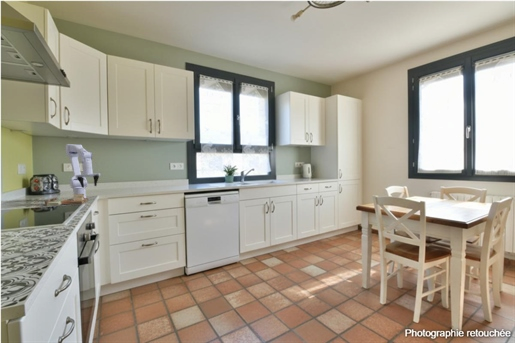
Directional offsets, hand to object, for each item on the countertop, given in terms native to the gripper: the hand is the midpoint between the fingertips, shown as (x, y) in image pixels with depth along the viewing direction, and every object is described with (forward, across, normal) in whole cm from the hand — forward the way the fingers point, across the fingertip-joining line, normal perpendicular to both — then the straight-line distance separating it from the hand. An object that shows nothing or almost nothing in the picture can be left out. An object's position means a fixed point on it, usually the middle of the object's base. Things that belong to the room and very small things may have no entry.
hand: (89, 186), depth 169 cm
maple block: (+8, -7, +2) cm, 11 cm away
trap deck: (+10, -14, +2) cm, 17 cm away
